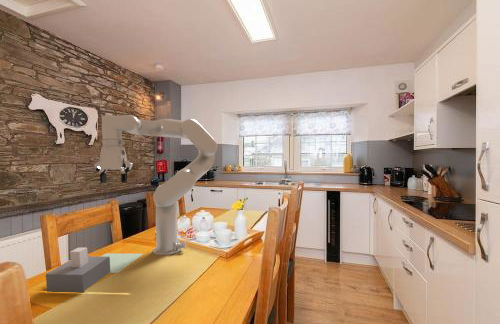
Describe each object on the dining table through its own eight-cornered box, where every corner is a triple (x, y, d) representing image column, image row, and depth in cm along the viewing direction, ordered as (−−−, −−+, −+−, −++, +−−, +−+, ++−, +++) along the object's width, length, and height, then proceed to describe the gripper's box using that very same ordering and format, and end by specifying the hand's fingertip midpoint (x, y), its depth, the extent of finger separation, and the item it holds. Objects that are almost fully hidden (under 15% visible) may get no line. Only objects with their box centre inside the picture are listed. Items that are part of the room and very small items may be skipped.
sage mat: (143, 254, 107) (143, 253, 107) (118, 274, 89) (118, 272, 89) (106, 254, 109) (106, 253, 109) (73, 273, 91) (73, 272, 91)
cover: (110, 272, 90) (108, 242, 90) (83, 292, 77) (81, 258, 77) (78, 271, 91) (76, 242, 91) (47, 291, 78) (44, 257, 78)
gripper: (136, 143, 108) (137, 181, 108) (100, 145, 109) (101, 182, 109) (126, 142, 100) (127, 183, 100) (87, 144, 102) (89, 183, 102)
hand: (113, 182), depth 105 cm, fingers open, 9 cm apart
